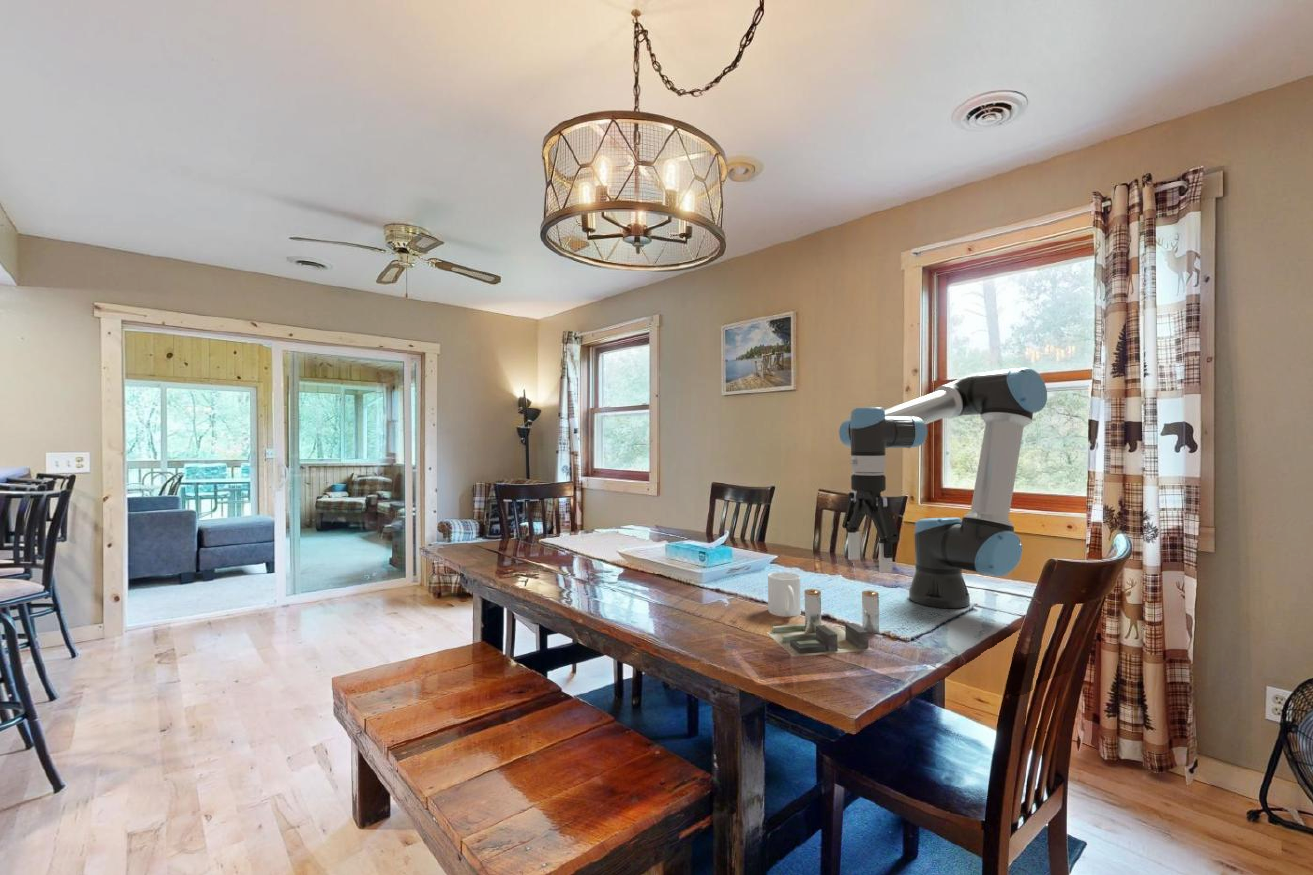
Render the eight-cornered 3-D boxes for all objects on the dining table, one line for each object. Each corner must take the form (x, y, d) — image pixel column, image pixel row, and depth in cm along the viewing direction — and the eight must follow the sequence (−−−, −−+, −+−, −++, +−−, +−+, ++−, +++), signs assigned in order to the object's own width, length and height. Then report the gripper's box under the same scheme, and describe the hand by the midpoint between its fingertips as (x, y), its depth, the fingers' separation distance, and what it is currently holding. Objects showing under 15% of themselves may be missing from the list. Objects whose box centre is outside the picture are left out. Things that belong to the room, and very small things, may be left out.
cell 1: (817, 631, 131) (816, 587, 131) (824, 636, 128) (823, 591, 128) (802, 632, 131) (801, 588, 131) (809, 637, 127) (808, 592, 127)
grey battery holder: (838, 630, 134) (837, 611, 134) (873, 654, 119) (872, 633, 119) (766, 636, 131) (765, 617, 131) (792, 661, 116) (792, 639, 116)
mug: (809, 625, 139) (808, 583, 139) (775, 625, 138) (774, 583, 139) (796, 610, 151) (796, 571, 151) (765, 610, 150) (765, 572, 151)
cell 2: (873, 631, 133) (873, 588, 133) (882, 637, 130) (881, 592, 130) (859, 632, 133) (859, 589, 133) (867, 638, 129) (867, 593, 129)
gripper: (827, 471, 143) (828, 555, 143) (883, 477, 118) (884, 579, 118) (855, 470, 144) (856, 554, 144) (916, 476, 120) (917, 577, 120)
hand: (869, 565), depth 131 cm, fingers open, 13 cm apart
